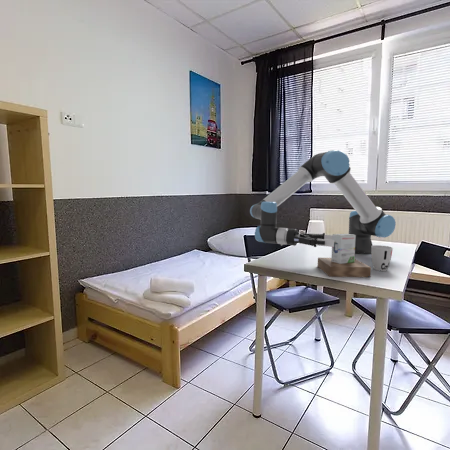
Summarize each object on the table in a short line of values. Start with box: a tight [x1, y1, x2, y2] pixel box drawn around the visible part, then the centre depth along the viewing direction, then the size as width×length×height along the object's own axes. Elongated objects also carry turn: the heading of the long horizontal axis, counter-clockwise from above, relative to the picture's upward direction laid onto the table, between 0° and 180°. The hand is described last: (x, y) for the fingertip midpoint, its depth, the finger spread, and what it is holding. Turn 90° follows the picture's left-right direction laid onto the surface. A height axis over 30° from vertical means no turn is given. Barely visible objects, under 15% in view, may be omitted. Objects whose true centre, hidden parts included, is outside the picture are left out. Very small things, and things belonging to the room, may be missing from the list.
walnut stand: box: [317, 257, 372, 278], centre depth 125 cm, size 16×16×4 cm
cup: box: [370, 244, 394, 272], centre depth 128 cm, size 8×8×10 cm
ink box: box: [330, 233, 356, 264], centre depth 124 cm, size 9×5×12 cm, turn 114°
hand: (337, 241), depth 125 cm, fingers open, 13 cm apart
